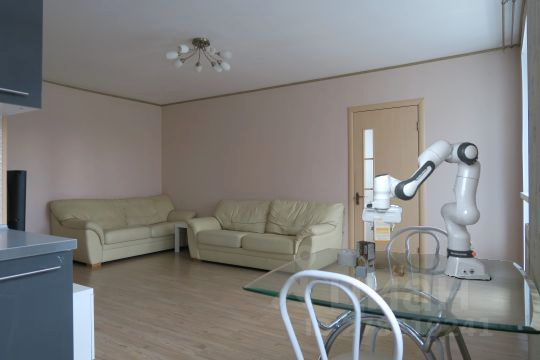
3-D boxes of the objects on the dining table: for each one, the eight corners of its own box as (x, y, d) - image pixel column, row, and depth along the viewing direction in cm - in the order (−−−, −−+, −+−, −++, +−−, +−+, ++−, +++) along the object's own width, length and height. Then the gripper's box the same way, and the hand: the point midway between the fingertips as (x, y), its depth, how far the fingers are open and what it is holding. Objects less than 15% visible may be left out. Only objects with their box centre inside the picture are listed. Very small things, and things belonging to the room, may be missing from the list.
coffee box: (375, 271, 214) (376, 242, 213) (368, 272, 210) (368, 243, 210) (363, 267, 221) (363, 240, 221) (355, 269, 218) (355, 241, 217)
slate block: (366, 276, 204) (367, 266, 204) (365, 278, 200) (365, 269, 199) (357, 275, 206) (357, 265, 206) (355, 277, 202) (355, 268, 202)
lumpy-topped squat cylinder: (360, 266, 224) (360, 252, 224) (338, 266, 225) (338, 251, 225) (357, 262, 234) (357, 248, 234) (336, 261, 235) (336, 248, 235)
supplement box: (388, 240, 202) (388, 215, 202) (390, 241, 198) (390, 216, 197) (373, 239, 204) (372, 215, 203) (374, 241, 199) (374, 216, 198)
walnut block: (403, 274, 207) (403, 265, 207) (402, 276, 203) (403, 267, 202) (394, 273, 209) (394, 264, 209) (393, 275, 205) (393, 266, 204)
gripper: (402, 204, 198) (402, 231, 199) (363, 203, 207) (363, 228, 207) (402, 205, 193) (401, 232, 193) (361, 204, 201) (361, 230, 201)
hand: (381, 230), depth 200 cm, fingers closed on supplement box, 8 cm apart
